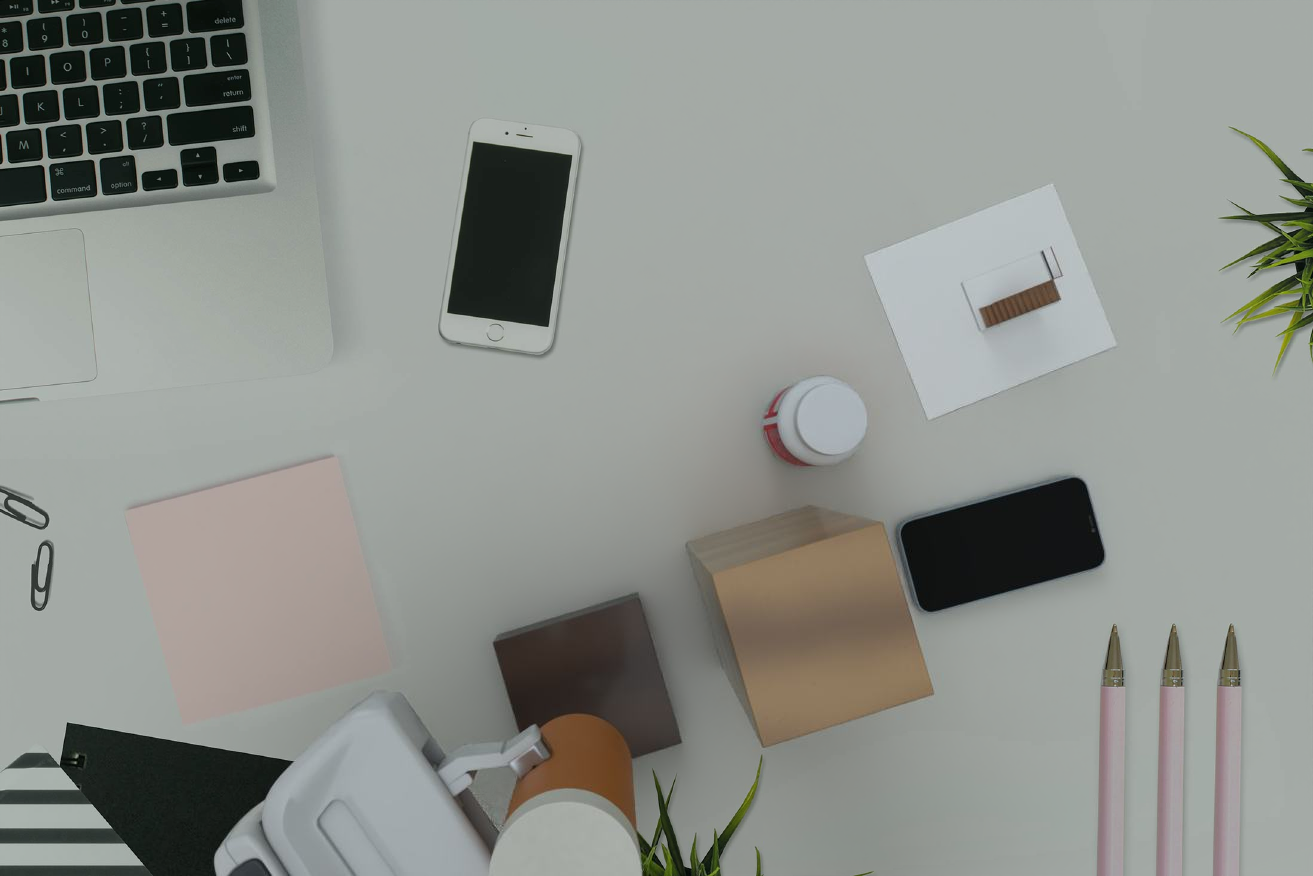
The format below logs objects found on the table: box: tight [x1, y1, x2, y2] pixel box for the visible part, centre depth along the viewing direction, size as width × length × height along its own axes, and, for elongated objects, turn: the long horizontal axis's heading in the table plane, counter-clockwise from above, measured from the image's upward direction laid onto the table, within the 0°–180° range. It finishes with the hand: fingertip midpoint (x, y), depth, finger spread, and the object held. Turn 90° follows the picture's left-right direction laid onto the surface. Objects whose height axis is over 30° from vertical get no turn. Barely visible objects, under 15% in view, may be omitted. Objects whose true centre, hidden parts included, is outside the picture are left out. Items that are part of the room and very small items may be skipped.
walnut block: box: [492, 592, 683, 760], centre depth 71 cm, size 11×11×3 cm
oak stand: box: [685, 504, 935, 749], centre depth 63 cm, size 10×10×20 cm
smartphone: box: [895, 475, 1107, 614], centre depth 73 cm, size 7×1×15 cm
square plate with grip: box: [863, 182, 1118, 421], centre depth 71 cm, size 16×14×6 cm
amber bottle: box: [488, 714, 643, 876], centre depth 45 cm, size 6×6×14 cm
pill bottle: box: [761, 375, 869, 467], centre depth 68 cm, size 6×6×11 cm
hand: (587, 801), depth 46 cm, fingers closed on amber bottle, 6 cm apart
